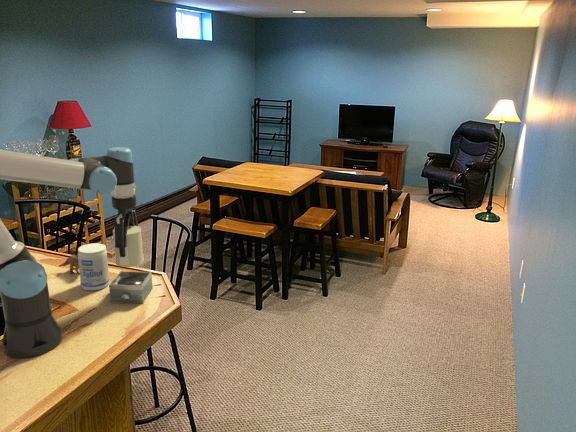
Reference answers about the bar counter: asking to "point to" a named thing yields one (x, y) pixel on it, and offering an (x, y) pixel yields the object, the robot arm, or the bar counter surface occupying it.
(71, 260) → the dinosaur figurine
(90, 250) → the supplement tub
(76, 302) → the bar counter surface
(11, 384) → the bar counter surface
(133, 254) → the can
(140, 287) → the grey open box
